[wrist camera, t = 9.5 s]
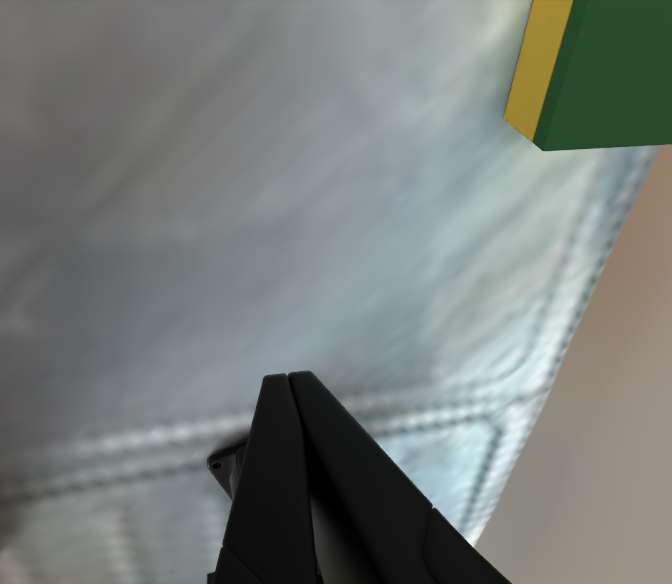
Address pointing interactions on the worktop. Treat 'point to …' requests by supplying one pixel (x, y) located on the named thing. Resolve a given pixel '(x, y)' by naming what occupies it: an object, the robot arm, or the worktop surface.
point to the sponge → (594, 75)
